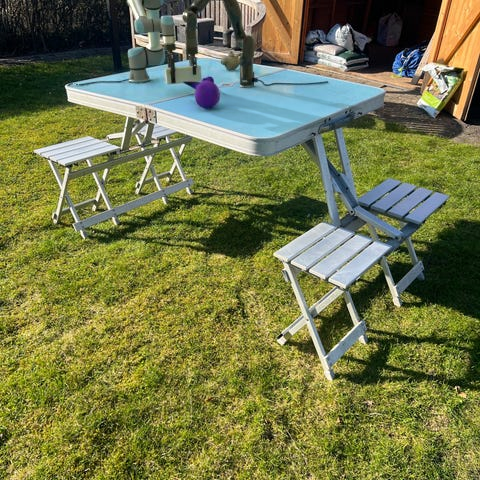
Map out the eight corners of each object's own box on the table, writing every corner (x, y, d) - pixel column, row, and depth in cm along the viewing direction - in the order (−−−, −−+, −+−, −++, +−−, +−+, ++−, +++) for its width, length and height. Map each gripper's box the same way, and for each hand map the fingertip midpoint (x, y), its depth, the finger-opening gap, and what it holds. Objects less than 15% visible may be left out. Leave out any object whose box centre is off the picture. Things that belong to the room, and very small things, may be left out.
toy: (207, 99, 283) (220, 114, 262) (180, 94, 275) (191, 110, 255) (213, 74, 275) (226, 87, 254) (185, 68, 267) (197, 82, 247)
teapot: (224, 72, 363) (223, 52, 355) (217, 70, 371) (216, 51, 364) (246, 69, 372) (246, 50, 364) (239, 67, 380) (239, 48, 373)
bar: (167, 84, 289) (165, 69, 284) (166, 83, 293) (164, 68, 289) (201, 81, 294) (200, 66, 290) (199, 80, 299) (198, 65, 294)
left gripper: (177, 44, 273) (181, 84, 285) (172, 41, 289) (175, 79, 300) (165, 45, 271) (169, 85, 283) (161, 42, 287) (164, 79, 298)
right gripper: (199, 47, 280) (201, 75, 288) (195, 44, 291) (196, 71, 300) (188, 47, 278) (190, 76, 286) (183, 45, 290) (185, 72, 298)
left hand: (172, 82), depth 292 cm, fingers closed on bar, 5 cm apart
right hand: (193, 73), depth 293 cm, fingers closed on bar, 5 cm apart
